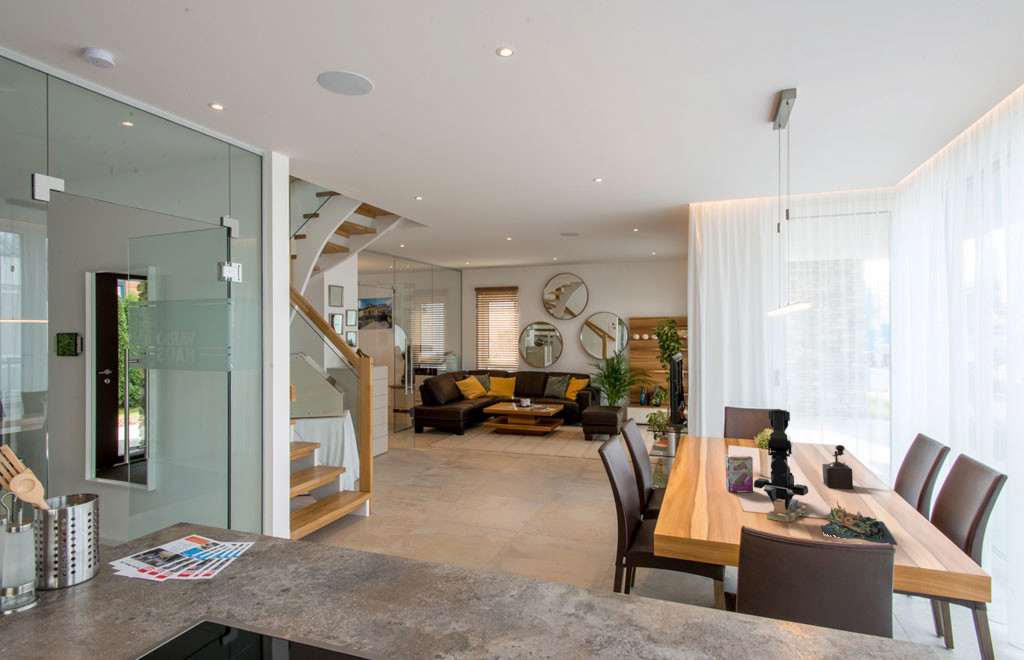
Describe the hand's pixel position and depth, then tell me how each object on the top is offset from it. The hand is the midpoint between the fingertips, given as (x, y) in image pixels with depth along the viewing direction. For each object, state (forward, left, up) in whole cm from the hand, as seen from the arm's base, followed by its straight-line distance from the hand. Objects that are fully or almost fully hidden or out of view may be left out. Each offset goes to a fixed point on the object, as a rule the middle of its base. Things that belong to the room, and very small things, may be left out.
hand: (781, 508), depth 213 cm
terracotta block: (0, 0, -1) cm, 1 cm away
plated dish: (-7, +23, -5) cm, 24 cm away
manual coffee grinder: (-68, +1, -4) cm, 68 cm away
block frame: (-5, 0, -4) cm, 7 cm away
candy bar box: (-27, -28, -4) cm, 39 cm away
